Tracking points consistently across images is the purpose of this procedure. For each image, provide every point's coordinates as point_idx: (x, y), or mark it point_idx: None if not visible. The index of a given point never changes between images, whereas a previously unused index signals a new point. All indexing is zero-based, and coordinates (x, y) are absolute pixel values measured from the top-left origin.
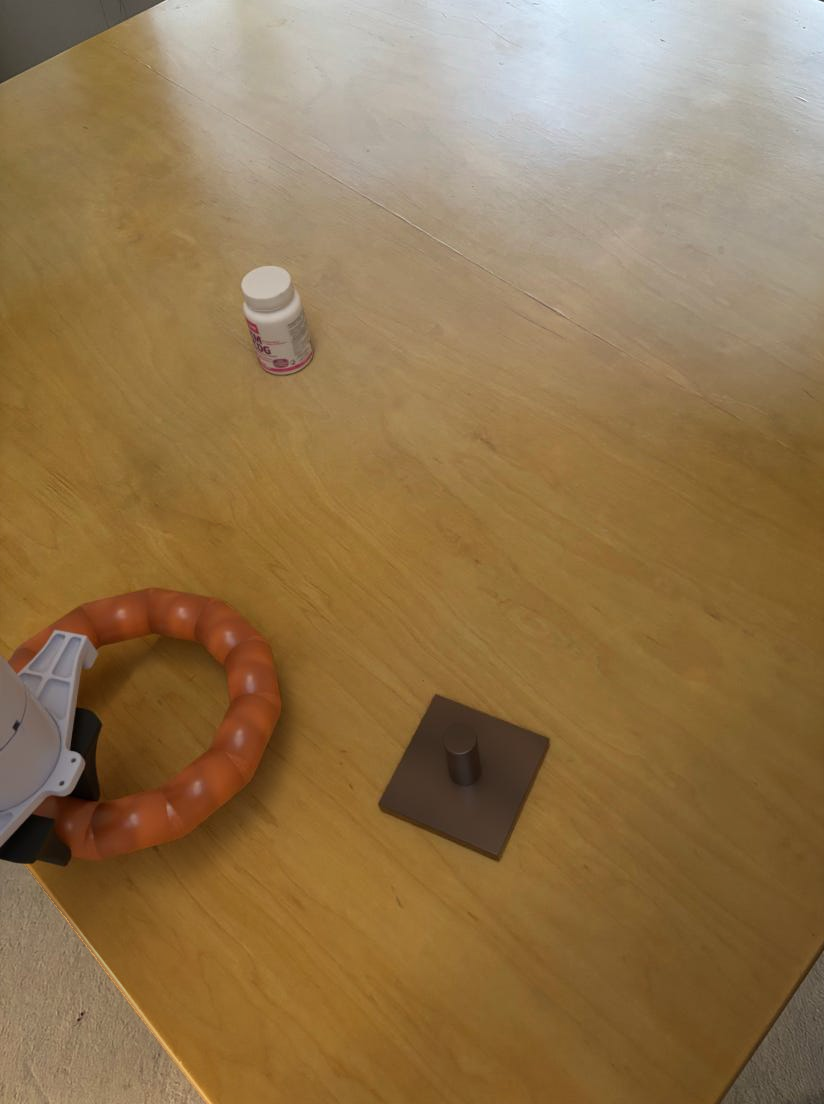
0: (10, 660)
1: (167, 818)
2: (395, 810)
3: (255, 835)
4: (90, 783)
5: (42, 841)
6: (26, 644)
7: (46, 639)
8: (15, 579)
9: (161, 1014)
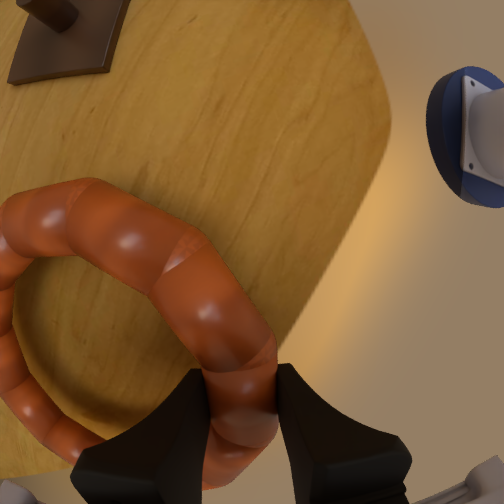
0: None
1: (188, 258)
2: (106, 49)
3: (164, 180)
4: (186, 400)
5: (373, 457)
6: None
7: None
8: None
9: (358, 197)
